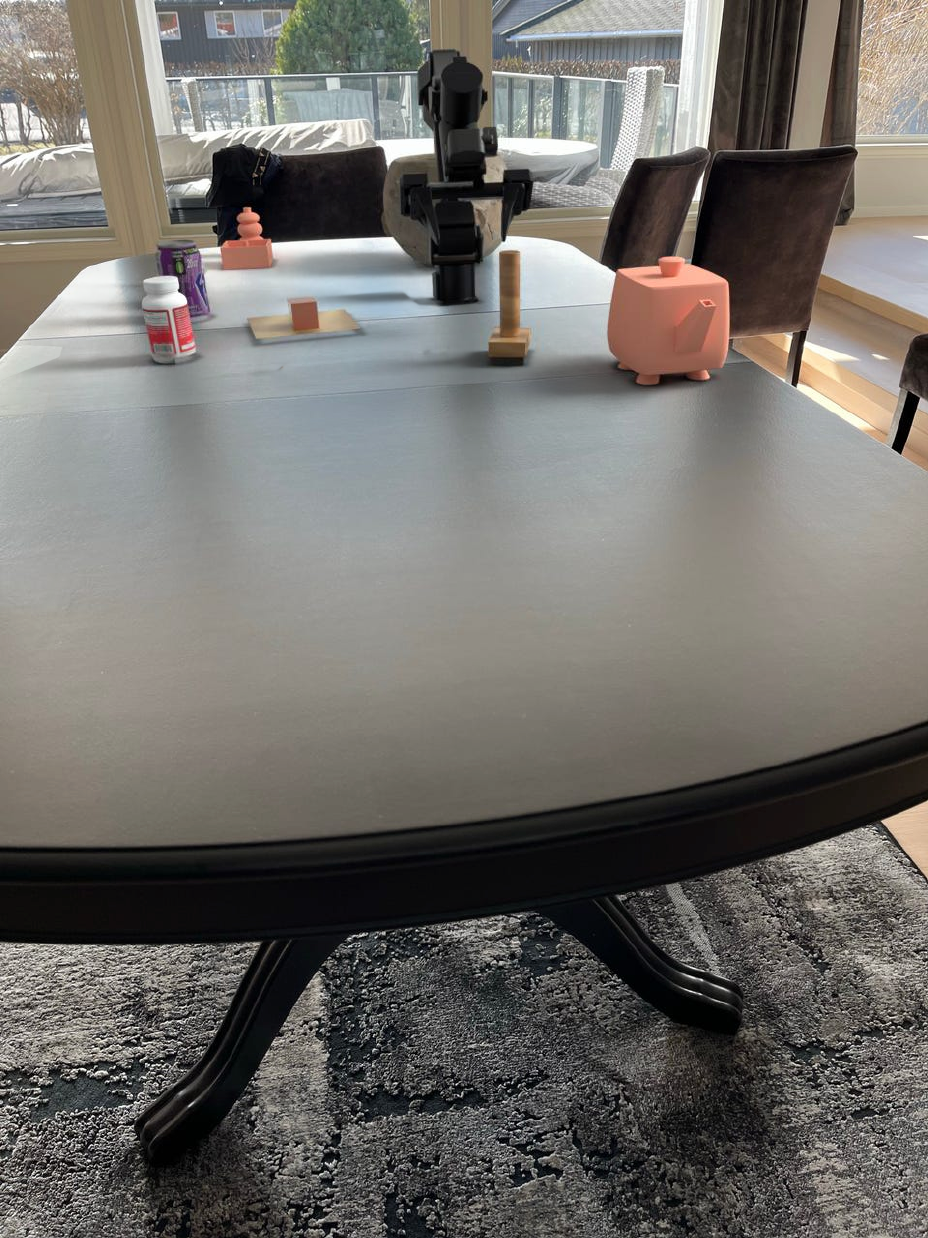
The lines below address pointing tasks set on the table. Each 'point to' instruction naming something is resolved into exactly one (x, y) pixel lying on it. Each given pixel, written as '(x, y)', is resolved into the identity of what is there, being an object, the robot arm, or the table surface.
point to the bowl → (411, 231)
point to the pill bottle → (167, 320)
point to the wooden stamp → (509, 315)
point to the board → (282, 327)
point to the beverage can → (185, 272)
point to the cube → (303, 313)
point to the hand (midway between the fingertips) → (471, 241)
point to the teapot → (669, 320)
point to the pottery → (247, 245)
